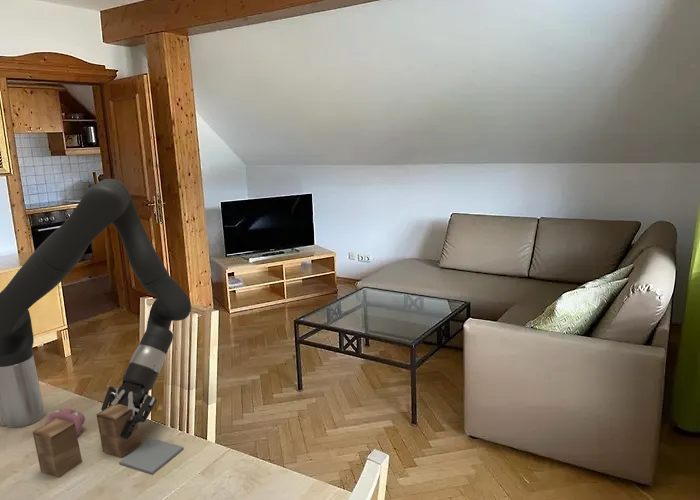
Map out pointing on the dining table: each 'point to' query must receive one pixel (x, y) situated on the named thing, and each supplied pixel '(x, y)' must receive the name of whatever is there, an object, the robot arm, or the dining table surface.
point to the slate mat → (151, 456)
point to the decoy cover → (57, 447)
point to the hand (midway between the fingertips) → (113, 434)
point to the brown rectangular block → (116, 430)
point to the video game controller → (68, 417)
